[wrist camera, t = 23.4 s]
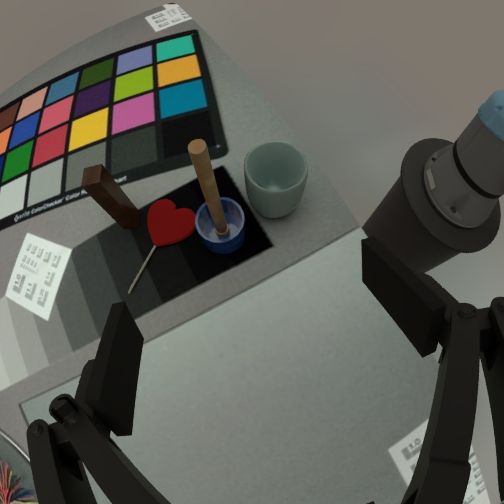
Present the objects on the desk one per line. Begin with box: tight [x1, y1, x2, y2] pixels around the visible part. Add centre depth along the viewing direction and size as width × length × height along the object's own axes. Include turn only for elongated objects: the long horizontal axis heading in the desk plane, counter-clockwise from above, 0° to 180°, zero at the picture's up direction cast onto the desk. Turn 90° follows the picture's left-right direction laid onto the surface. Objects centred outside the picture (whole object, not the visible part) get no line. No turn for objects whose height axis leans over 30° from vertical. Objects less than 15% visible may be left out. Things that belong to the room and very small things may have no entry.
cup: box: [244, 141, 308, 218], centre depth 42 cm, size 8×8×10 cm
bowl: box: [195, 197, 246, 254], centre depth 43 cm, size 6×6×5 cm
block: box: [81, 164, 139, 229], centre depth 40 cm, size 3×3×14 cm
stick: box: [188, 139, 230, 238], centre depth 35 cm, size 2×2×20 cm
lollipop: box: [128, 199, 196, 294], centre depth 44 cm, size 8×1×15 cm
